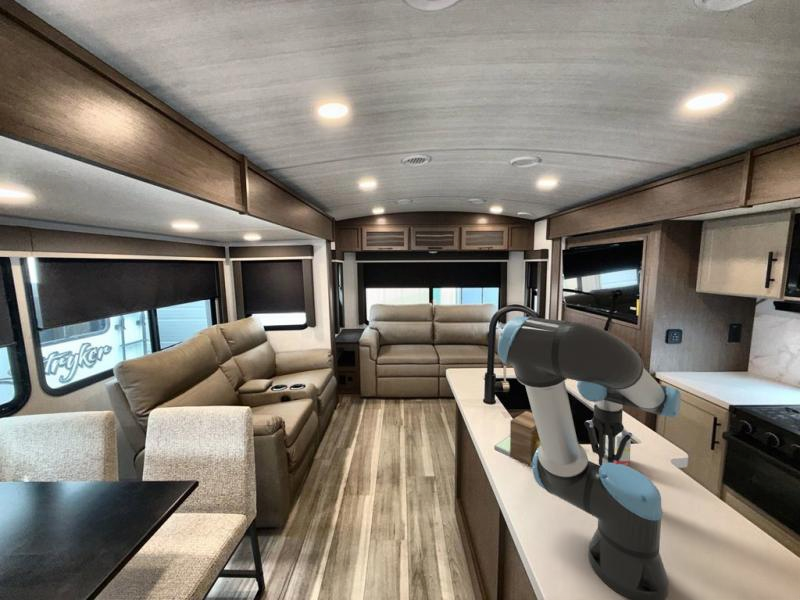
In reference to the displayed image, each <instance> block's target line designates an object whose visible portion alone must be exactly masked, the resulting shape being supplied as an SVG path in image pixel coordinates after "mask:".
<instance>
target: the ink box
mask: <svg viewBox="0 0 800 600" xmlns="http://www.w3.org/2000/svg"><path fill="white" fill-rule="evenodd" d="M621 435H622V432H620V433H619V434H618V435H616V437H615V455H616V453H617V450H618V448H619V445H620V442H621V440H622V439H623V438H622V436H621ZM631 443H632V437H631V438H630V439H629V440H628V441H627V444H626V446H625V449H624V451H623V454H622V457H621V458H620V460H619V461H616V460H614V463H615V464H617V465H618V464H622V465H625V466H628V467H630V466H631V463H630V461H631ZM605 452H606V453H605V455H607V456H608V436H607V435H606V444H605ZM630 468H631V467H630Z"/></svg>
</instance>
